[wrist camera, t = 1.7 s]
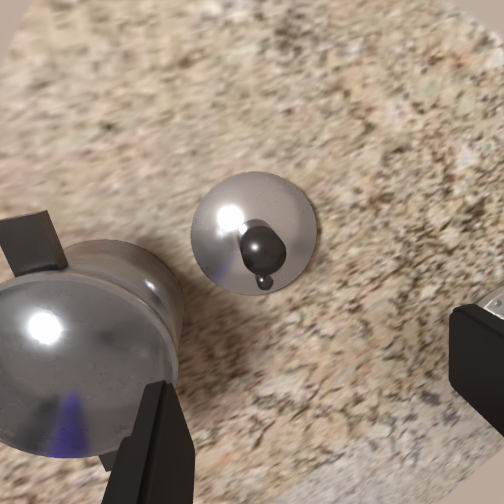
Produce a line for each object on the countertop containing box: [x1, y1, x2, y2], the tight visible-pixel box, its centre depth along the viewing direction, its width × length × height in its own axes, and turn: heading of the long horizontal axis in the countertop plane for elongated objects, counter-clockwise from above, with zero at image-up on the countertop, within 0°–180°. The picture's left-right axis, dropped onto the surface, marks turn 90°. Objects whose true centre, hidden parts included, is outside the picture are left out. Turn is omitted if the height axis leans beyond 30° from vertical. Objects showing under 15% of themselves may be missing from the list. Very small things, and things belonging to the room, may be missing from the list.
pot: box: [0, 210, 184, 472], centre depth 24 cm, size 14×20×9 cm
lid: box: [191, 171, 317, 295], centre depth 25 cm, size 11×11×6 cm
